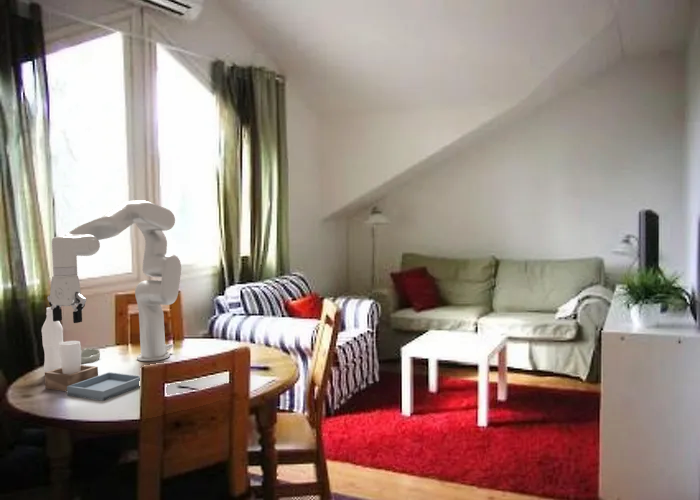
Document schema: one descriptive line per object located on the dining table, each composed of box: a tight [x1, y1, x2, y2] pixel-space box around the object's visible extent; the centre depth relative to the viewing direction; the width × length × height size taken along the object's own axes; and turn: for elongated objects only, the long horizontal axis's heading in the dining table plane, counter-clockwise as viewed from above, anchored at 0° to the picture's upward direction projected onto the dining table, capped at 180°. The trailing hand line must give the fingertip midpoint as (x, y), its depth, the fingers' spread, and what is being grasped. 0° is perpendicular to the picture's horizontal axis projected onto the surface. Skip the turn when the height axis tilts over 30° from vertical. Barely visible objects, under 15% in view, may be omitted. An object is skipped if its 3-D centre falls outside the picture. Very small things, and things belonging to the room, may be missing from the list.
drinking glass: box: [59, 340, 82, 374], centre depth 213 cm, size 7×7×15 cm
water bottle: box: [41, 306, 64, 373], centre depth 228 cm, size 7×7×25 cm
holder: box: [44, 364, 99, 392], centre depth 214 cm, size 12×12×6 cm
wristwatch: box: [81, 347, 101, 364], centre depth 248 cm, size 9×6×5 cm
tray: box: [66, 371, 141, 401], centre depth 207 cm, size 18×16×3 cm
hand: (67, 321), depth 212 cm, fingers open, 9 cm apart
